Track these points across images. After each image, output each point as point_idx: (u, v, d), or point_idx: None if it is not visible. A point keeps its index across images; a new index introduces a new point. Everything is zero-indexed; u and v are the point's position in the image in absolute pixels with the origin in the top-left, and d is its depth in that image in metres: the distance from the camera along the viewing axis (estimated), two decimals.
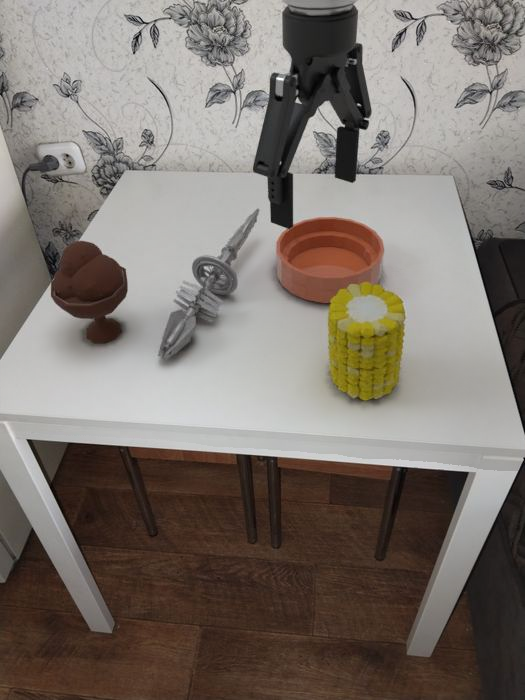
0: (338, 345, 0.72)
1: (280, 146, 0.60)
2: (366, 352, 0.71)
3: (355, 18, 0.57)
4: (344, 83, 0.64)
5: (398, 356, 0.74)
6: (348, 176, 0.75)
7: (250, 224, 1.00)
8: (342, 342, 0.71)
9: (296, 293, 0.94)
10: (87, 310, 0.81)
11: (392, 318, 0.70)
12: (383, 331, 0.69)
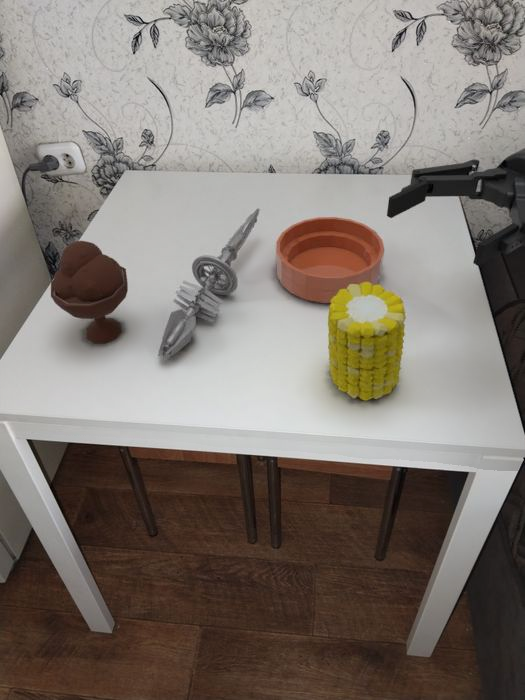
0: (338, 345, 0.72)
1: (435, 168, 0.79)
2: (366, 352, 0.71)
3: None
4: (521, 188, 0.74)
5: (398, 356, 0.74)
6: None
7: (250, 224, 1.00)
8: (342, 342, 0.71)
9: (296, 293, 0.94)
10: (87, 310, 0.81)
11: (392, 318, 0.70)
12: (383, 331, 0.69)
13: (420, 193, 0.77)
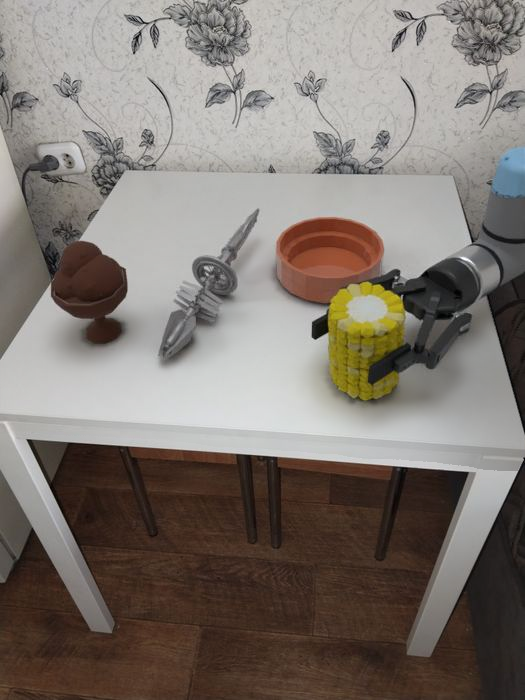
0: (338, 345, 0.72)
1: None
2: (366, 352, 0.71)
3: (463, 265, 0.80)
4: (434, 304, 0.77)
5: None
6: None
7: (250, 224, 1.00)
8: (342, 342, 0.71)
9: (296, 293, 0.94)
10: (87, 310, 0.81)
11: (392, 318, 0.70)
12: (383, 331, 0.69)
13: None
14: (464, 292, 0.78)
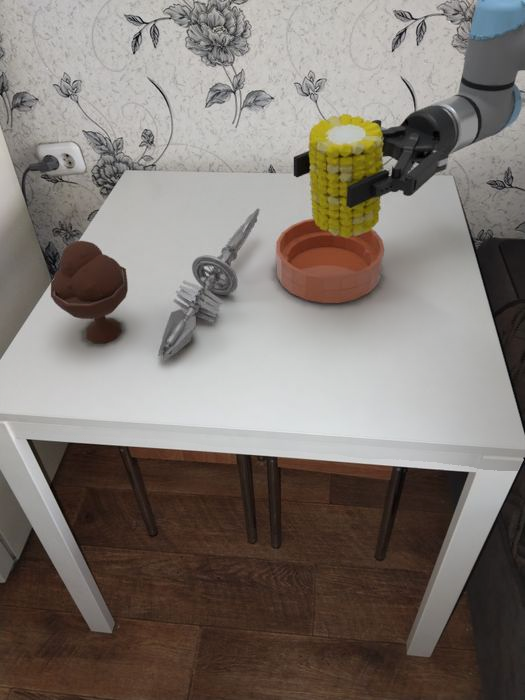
0: (318, 171, 0.75)
1: None
2: (345, 174, 0.73)
3: (441, 109, 0.82)
4: (412, 142, 0.79)
5: None
6: None
7: (250, 224, 1.00)
8: (322, 166, 0.74)
9: (296, 293, 0.94)
10: (87, 310, 0.81)
11: (370, 140, 0.72)
12: (361, 149, 0.71)
13: None
14: (442, 132, 0.81)
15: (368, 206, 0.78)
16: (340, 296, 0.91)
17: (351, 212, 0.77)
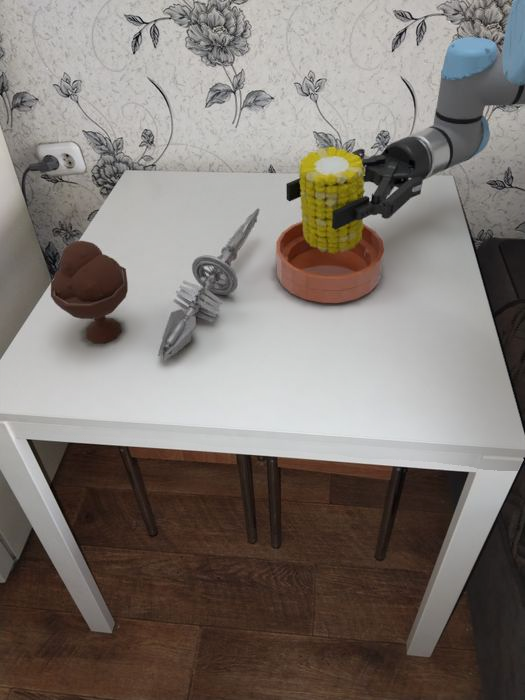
0: (307, 197, 0.86)
1: None
2: (330, 200, 0.84)
3: (416, 140, 0.93)
4: (390, 170, 0.91)
5: None
6: None
7: (250, 224, 1.00)
8: (310, 193, 0.85)
9: (296, 293, 0.94)
10: (87, 310, 0.81)
11: (352, 170, 0.83)
12: (344, 179, 0.82)
13: None
14: (417, 161, 0.92)
15: (351, 227, 0.89)
16: (340, 296, 0.91)
17: (337, 232, 0.88)
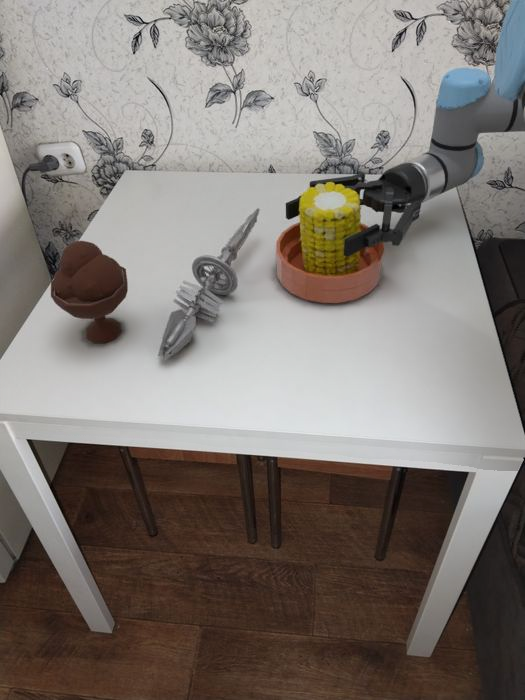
0: (307, 231, 0.90)
1: (328, 180, 0.99)
2: (329, 234, 0.88)
3: (412, 167, 0.96)
4: (390, 196, 0.93)
5: None
6: None
7: (250, 224, 1.00)
8: (310, 227, 0.89)
9: (296, 293, 0.94)
10: (87, 310, 0.81)
11: (349, 206, 0.87)
12: (341, 215, 0.86)
13: None
14: (413, 187, 0.95)
15: (349, 258, 0.93)
16: (340, 296, 0.91)
17: (335, 263, 0.92)
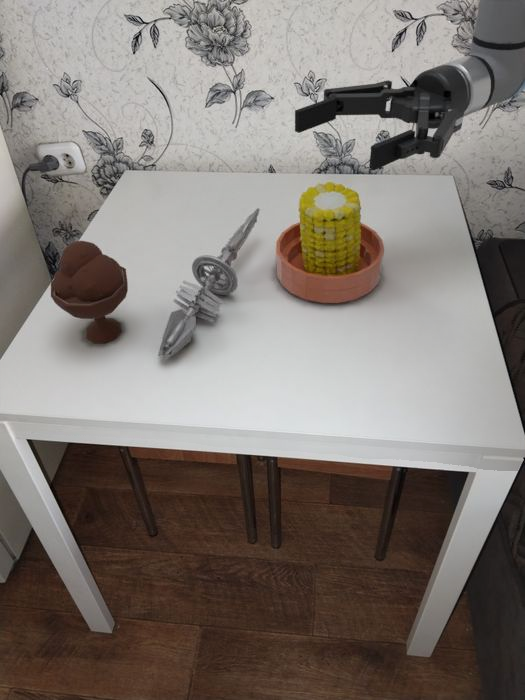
0: (307, 231, 0.90)
1: (346, 88, 0.80)
2: (329, 234, 0.88)
3: (452, 68, 0.77)
4: (425, 101, 0.75)
5: (356, 242, 0.92)
6: None
7: (250, 224, 1.00)
8: (310, 227, 0.89)
9: (296, 293, 0.94)
10: (87, 310, 0.81)
11: (349, 206, 0.87)
12: (341, 215, 0.86)
13: (329, 109, 0.78)
14: (453, 92, 0.76)
15: (349, 258, 0.93)
16: (340, 296, 0.91)
17: (335, 263, 0.92)
